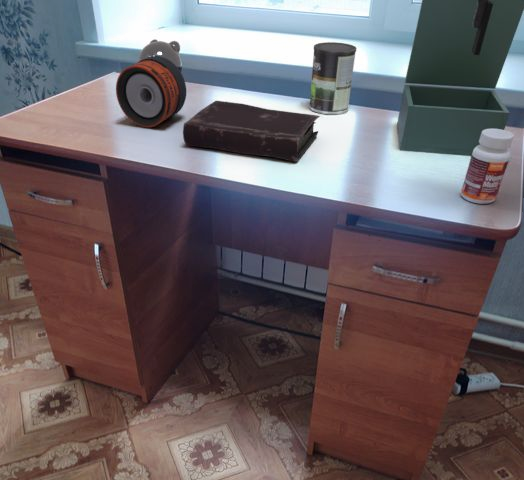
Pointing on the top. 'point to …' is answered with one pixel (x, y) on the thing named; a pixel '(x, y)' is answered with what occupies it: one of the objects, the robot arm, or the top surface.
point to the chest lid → (461, 43)
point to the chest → (447, 118)
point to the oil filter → (151, 91)
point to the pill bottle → (487, 166)
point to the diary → (251, 130)
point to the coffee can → (331, 77)
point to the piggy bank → (163, 51)
